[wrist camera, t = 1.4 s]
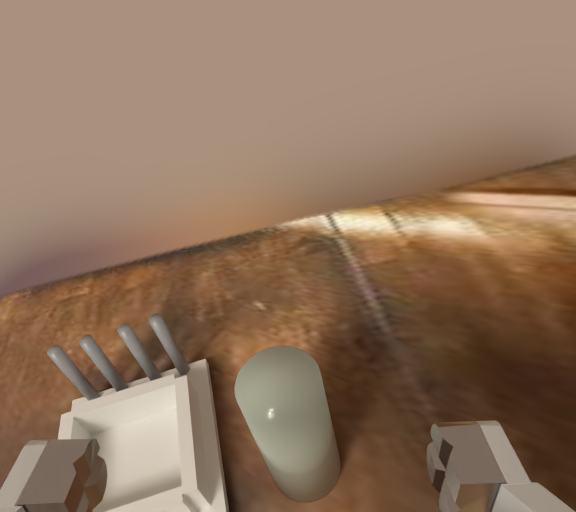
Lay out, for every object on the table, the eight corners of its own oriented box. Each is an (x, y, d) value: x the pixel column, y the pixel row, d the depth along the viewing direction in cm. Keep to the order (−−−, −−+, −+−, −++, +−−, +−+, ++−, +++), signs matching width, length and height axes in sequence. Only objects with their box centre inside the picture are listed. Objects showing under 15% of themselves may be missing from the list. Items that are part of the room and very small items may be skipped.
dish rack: (208, 365, 41) (179, 306, 36) (236, 562, 29) (198, 518, 24) (78, 406, 41) (28, 352, 35) (51, 627, 29) (-30, 595, 23)
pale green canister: (328, 424, 35) (307, 335, 28) (350, 488, 31) (333, 405, 24) (266, 444, 35) (228, 360, 28) (281, 512, 31) (242, 435, 24)
